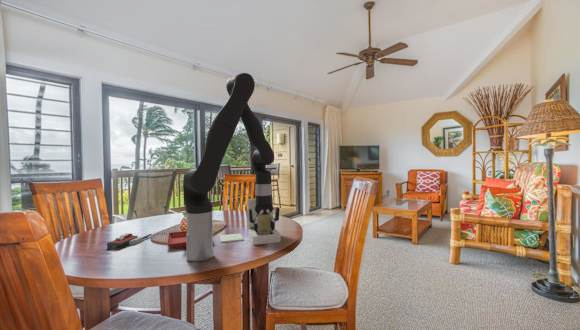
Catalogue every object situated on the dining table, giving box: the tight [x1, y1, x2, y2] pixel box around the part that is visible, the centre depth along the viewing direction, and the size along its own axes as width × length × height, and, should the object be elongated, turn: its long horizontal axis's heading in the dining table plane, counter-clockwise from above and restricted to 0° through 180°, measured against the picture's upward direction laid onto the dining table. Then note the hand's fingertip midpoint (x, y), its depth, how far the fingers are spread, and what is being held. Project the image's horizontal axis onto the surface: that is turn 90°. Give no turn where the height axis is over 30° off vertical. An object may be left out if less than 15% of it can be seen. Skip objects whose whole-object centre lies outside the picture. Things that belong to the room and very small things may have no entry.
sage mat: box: [219, 233, 244, 244], centre depth 126 cm, size 10×10×1 cm
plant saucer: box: [166, 230, 187, 250], centre depth 122 cm, size 18×18×3 cm
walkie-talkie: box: [106, 232, 153, 250], centre depth 122 cm, size 9×4×20 cm
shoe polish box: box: [258, 214, 270, 235], centre depth 122 cm, size 5×5×12 cm
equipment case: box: [246, 197, 281, 246], centre depth 125 cm, size 12×15×18 cm
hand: (264, 230), depth 122 cm, fingers open, 6 cm apart
